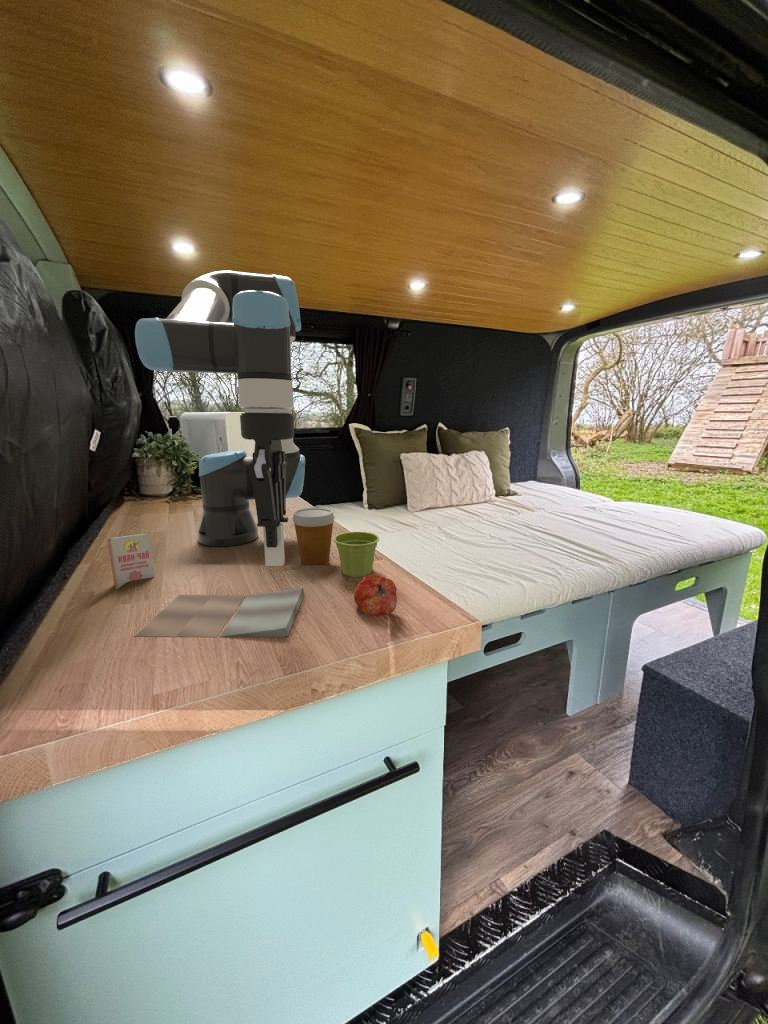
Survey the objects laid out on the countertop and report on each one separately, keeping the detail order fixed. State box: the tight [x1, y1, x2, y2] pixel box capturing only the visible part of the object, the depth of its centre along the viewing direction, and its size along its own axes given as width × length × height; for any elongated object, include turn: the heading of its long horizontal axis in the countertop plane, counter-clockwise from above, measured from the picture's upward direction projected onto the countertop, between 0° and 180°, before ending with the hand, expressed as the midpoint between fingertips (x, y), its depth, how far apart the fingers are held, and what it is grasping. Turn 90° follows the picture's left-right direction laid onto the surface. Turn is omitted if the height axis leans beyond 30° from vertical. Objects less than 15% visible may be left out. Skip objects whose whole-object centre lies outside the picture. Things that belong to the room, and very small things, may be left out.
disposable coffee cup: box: [291, 507, 336, 566], centre depth 92 cm, size 10×10×12 cm
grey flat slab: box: [219, 587, 305, 638], centre depth 67 cm, size 14×10×1 cm
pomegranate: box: [353, 573, 398, 616], centre depth 70 cm, size 7×7×10 cm
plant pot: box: [333, 531, 380, 578], centre depth 85 cm, size 9×9×9 cm
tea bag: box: [107, 533, 155, 591], centre depth 80 cm, size 4×7×10 cm, turn 122°
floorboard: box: [134, 594, 247, 638], centre depth 67 cm, size 14×12×1 cm
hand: (275, 563), depth 65 cm, fingers closed
